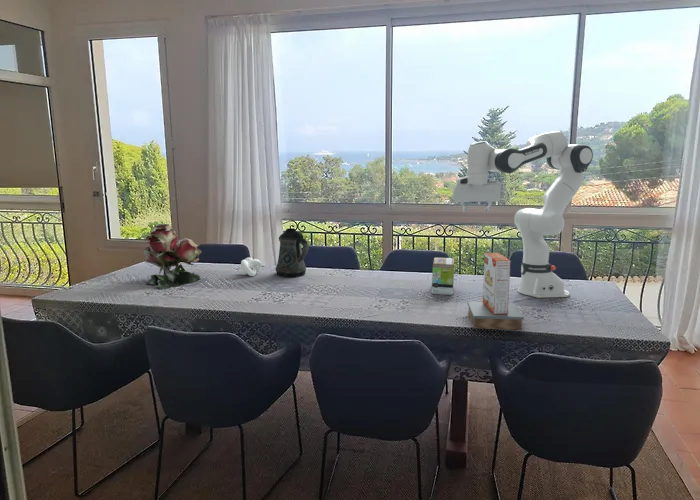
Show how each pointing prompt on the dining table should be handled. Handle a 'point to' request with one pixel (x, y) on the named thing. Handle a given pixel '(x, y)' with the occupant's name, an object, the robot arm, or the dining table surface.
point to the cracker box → (496, 283)
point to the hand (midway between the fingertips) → (475, 211)
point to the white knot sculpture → (250, 266)
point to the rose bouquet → (170, 257)
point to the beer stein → (291, 254)
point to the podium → (494, 317)
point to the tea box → (443, 276)
